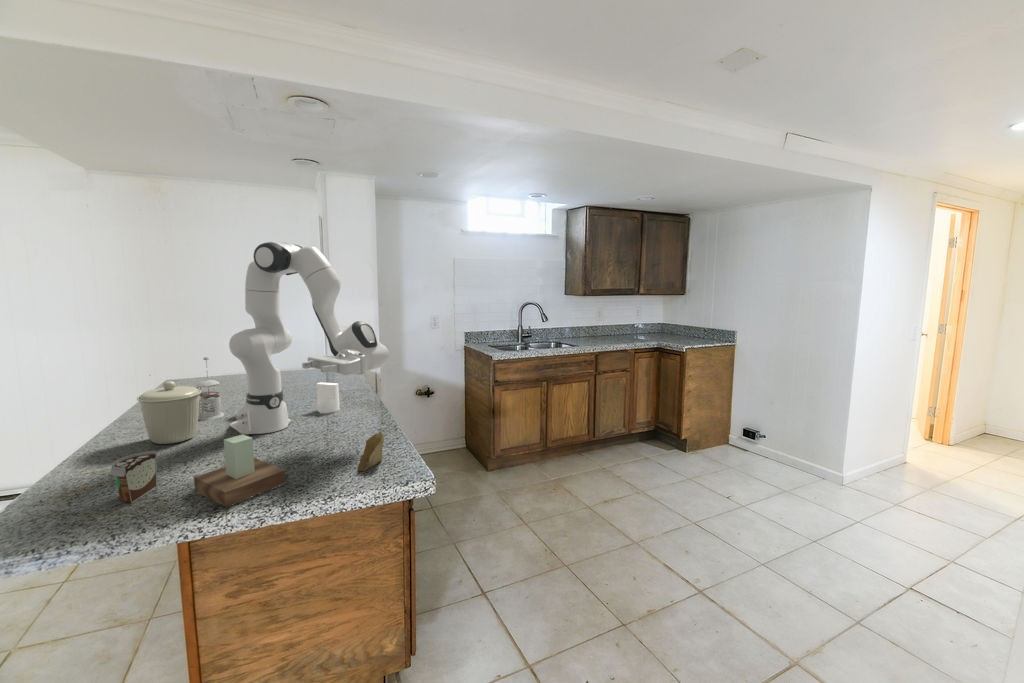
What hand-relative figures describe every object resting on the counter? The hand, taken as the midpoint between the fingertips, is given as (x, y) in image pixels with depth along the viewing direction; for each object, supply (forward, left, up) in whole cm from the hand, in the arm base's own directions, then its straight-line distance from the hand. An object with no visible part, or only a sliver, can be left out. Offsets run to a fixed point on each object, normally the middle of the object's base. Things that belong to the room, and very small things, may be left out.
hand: (312, 367), depth 143 cm
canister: (-55, -18, -30) cm, 65 cm away
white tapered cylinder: (-41, +35, -30) cm, 62 cm away
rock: (+19, +5, -30) cm, 36 cm away
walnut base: (+2, -25, -30) cm, 39 cm away
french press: (-74, +2, -30) cm, 80 cm away
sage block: (+2, -25, -26) cm, 36 cm away
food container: (-17, -43, -30) cm, 55 cm away
